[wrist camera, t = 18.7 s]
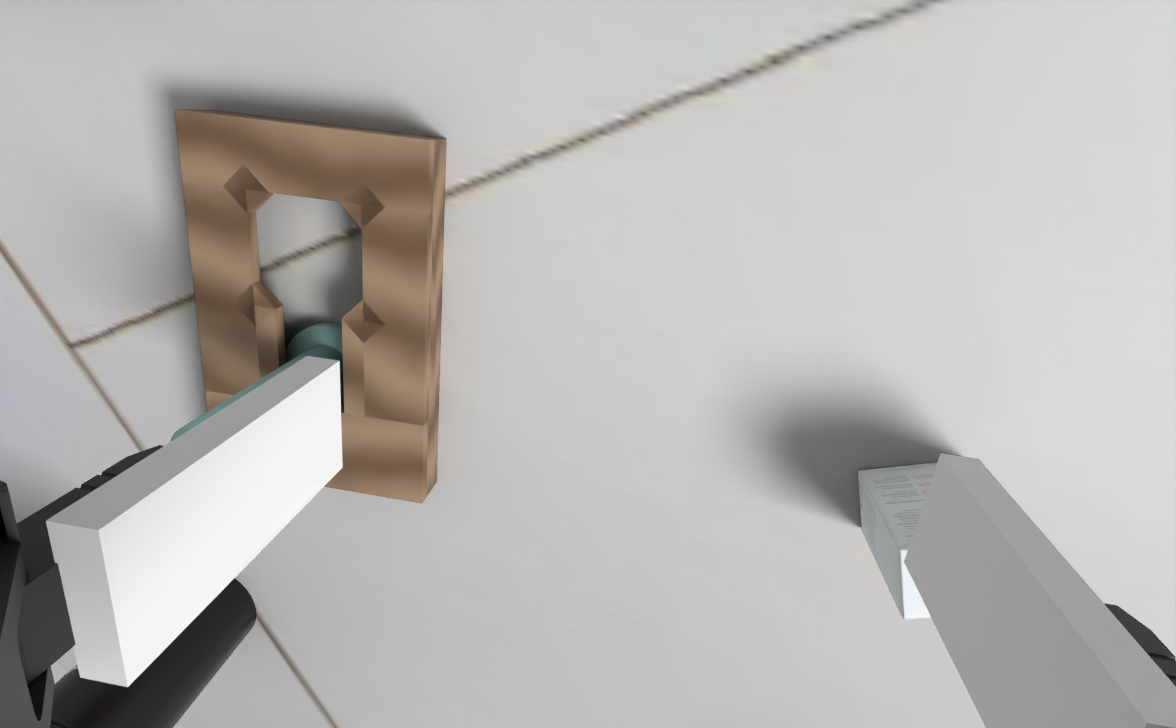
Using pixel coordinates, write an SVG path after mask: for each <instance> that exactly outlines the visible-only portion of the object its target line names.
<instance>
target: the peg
mask: <svg viewBox="0 0 1176 728" xmlns="http://www.w3.org/2000/svg"><path fill="white" fill-rule="evenodd" d="M306 356H312V357H319V358H325V359H332V360H338V361H340V394H341V407H344V382H343V346H342V325H339V324H335V323H328V322H324V323H317V324H314V325H311V326H309V327H307V328H306V329H304V330H302V331H300V332H299V333H297V334H296V335H295V336H294V337H293V338H292V339H291V341H290V342H289V344H288V346H287V349H286V364H284V365H282V366H281V367H279V368H277V369H276V370H274V371H273V372H271V373H269V374H268V375H266V376H264V377H263V378H261V379H260V380H258V381H256V382H255V383H253V384H251V385H250V386H248V387H247V388H245V389H243V390H242V391H240V392H238V393H237V394H235V395H234V396H232V397H230V398H229V399H227V400H226V401H224V402H222V403H221V404H219V405H217V406H216V407H214V408H213V409H211V410H209V411H208V412H206V413H204V414H203V415H201V416H200V417H198V418H196V419H195V420H193V421H191V422H190V423H188V424H187V425H185V426H183V427H182V428H180V429H179V430H177V431H176V432H175V433H174V435H173V436H172V438H171V441H173V440H175V439H176V438H178V437H179V436H181V435H182V434H184V433H186V432H187V431H189V430H190V429H192V428H194V427H195V426H197V425H198V424H200V423H201V422H203V421H205V420H206V419H208V418H209V417H211V416H213V415H214V414H216V413H217V412H219V411H221V410H222V409H224V408H225V407H227V406H228V405H230V404H232V403H233V402H235V401H236V400H238V399H240V398H241V397H243V396H244V395H246V394H247V393H249V392H251V391H252V390H254V389H255V388H257V387H259V386H260V385H262V384H263V383H265V382H266V381H268V380H270V379H271V378H273V377H274V376H276V375H278V374H279V373H281V372H282V371H284V370H286V369H287V368H289V367H290V366H292V365H293V364H295V363H297V362H298V361H300V360H301V359H303V358H305V357H306Z"/></svg>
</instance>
